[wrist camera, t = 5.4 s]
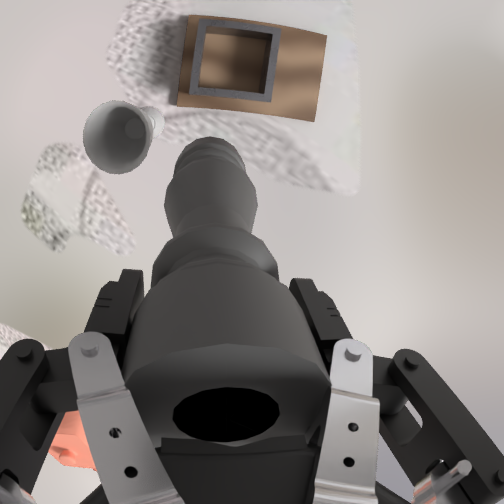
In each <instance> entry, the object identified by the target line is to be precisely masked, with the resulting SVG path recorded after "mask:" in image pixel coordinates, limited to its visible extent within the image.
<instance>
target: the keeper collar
mask: <svg viewBox="0 0 504 504" xmlns="http://www.w3.org/2000/svg"><path fill="white" fill-rule="evenodd" d="M206 33H208V34H220V35H230V36H238V37H246V38H254V39H261V40H266V44H265V51H264V58H263V65H262V72H261V79H260V86H259V93H253V92H245V91H236V90H226V89H215V88H203V87H199V82H200V74H201V67H202V59H203V52H204V45H205V38H206ZM280 36H281V28H276V27H270V26H264V25H257V24H250V23H243V22H235V21H225V20H215V19H201V18H199V24H198V31H197V37H196V44H195V51H194V58H193V65H192V73H191V81H190V89H189V94H190V95H200V96H213V97H224V98H234V99H243V100H252V101H260V102H270V103H271V99H272V92H273V85H274V78H275V71H276V64H277V57H278V50H279V43H280Z"/></svg>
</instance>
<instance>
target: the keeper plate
mask: <svg viewBox="0 0 504 504" xmlns="http://www.w3.org/2000/svg"><path fill="white" fill-rule="evenodd" d="M199 18H201V19H215V20H225V21H235V22H243V23H250V24H257V25H264V26H270V27H276V28H281V36H280V43H279V50H278V57H277V64H276V71H275V78H274V85H273V92H272V99H271V103H270V102H260V101H252V100H243V99H234V98H224V97H213V96H200V95H190V94H189V89H190V81H191V73H192V65H193V58H194V51H195V44H196V37H197V31H198V24H199ZM326 39H327V35H323V34H319V33H314V32H310V31H306V30H301V29H296V28H292V27H287V26H281V25H276V24H270V23H264V22H257V21H250V20H243V19H235V18H225V17H215V16H201V15H189V18H188V24H187V31H186V37H185V44H184V51H183V58H182V65H181V73H180V81H179V90H178V99H177V107H195V108H209V109H221V110H231V111H241V112H249V113H258V114H265V115H273V116H280V117H286V118H293V119H299V120H305V121H311V122H314V121H315V114H316V108H317V102H318V95H319V89H320V82H321V75H322V68H323V61H324V54H325V47H326ZM265 44H266V40H261V39H254V38H246V37H238V36H230V35H220V34H208V33H206V38H205V45H204V52H203V59H202V67H201V74H200V82H199V87H203V88H215V89H226V90H236V91H245V92H253V93H259V86H260V79H261V72H262V65H263V58H264V51H265Z"/></svg>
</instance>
